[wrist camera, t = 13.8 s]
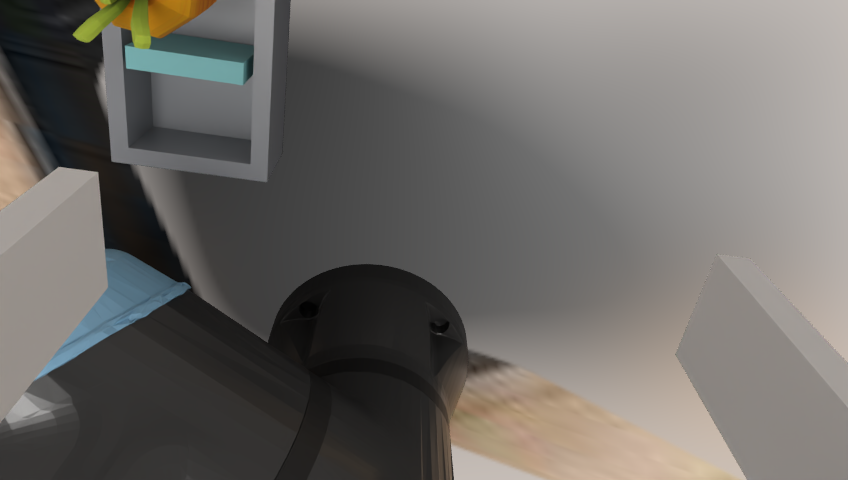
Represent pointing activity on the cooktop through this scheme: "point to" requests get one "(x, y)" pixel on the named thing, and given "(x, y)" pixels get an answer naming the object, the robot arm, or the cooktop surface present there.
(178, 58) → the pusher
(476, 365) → the cooktop surface
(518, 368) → the cooktop surface
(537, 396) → the cooktop surface
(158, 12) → the carrot
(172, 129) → the grey open box
